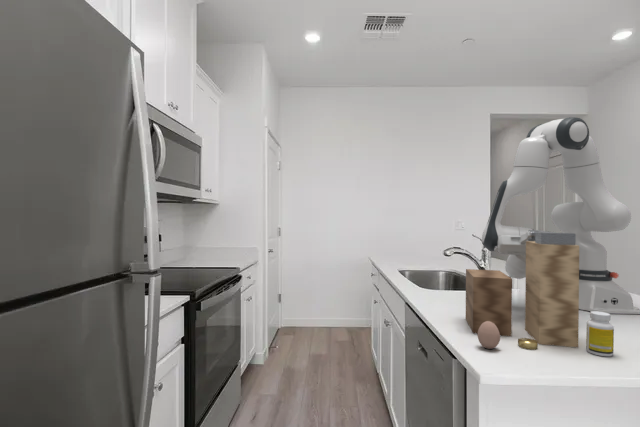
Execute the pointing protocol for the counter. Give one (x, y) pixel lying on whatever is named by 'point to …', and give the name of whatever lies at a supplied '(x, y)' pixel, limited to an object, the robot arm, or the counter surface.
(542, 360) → the counter surface
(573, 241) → the hook bar
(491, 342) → the egg
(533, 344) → the brass disc
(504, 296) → the walnut block
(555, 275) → the oak shelf block
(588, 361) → the counter surface
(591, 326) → the supplement bottle
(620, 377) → the counter surface
